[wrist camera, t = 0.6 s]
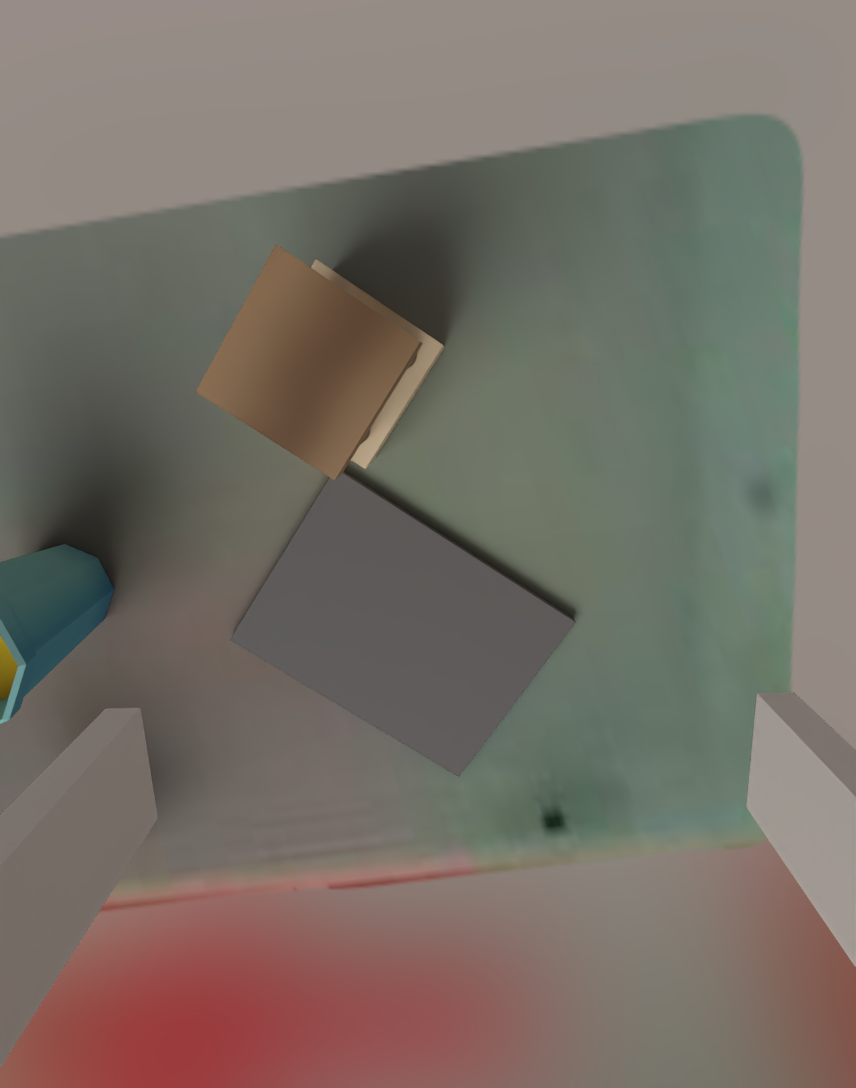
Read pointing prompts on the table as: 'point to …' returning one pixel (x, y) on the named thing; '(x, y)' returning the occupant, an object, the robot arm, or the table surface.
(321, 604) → the mat
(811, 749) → the robot arm
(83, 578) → the cup
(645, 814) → the table surface
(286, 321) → the stool
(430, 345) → the oak block
